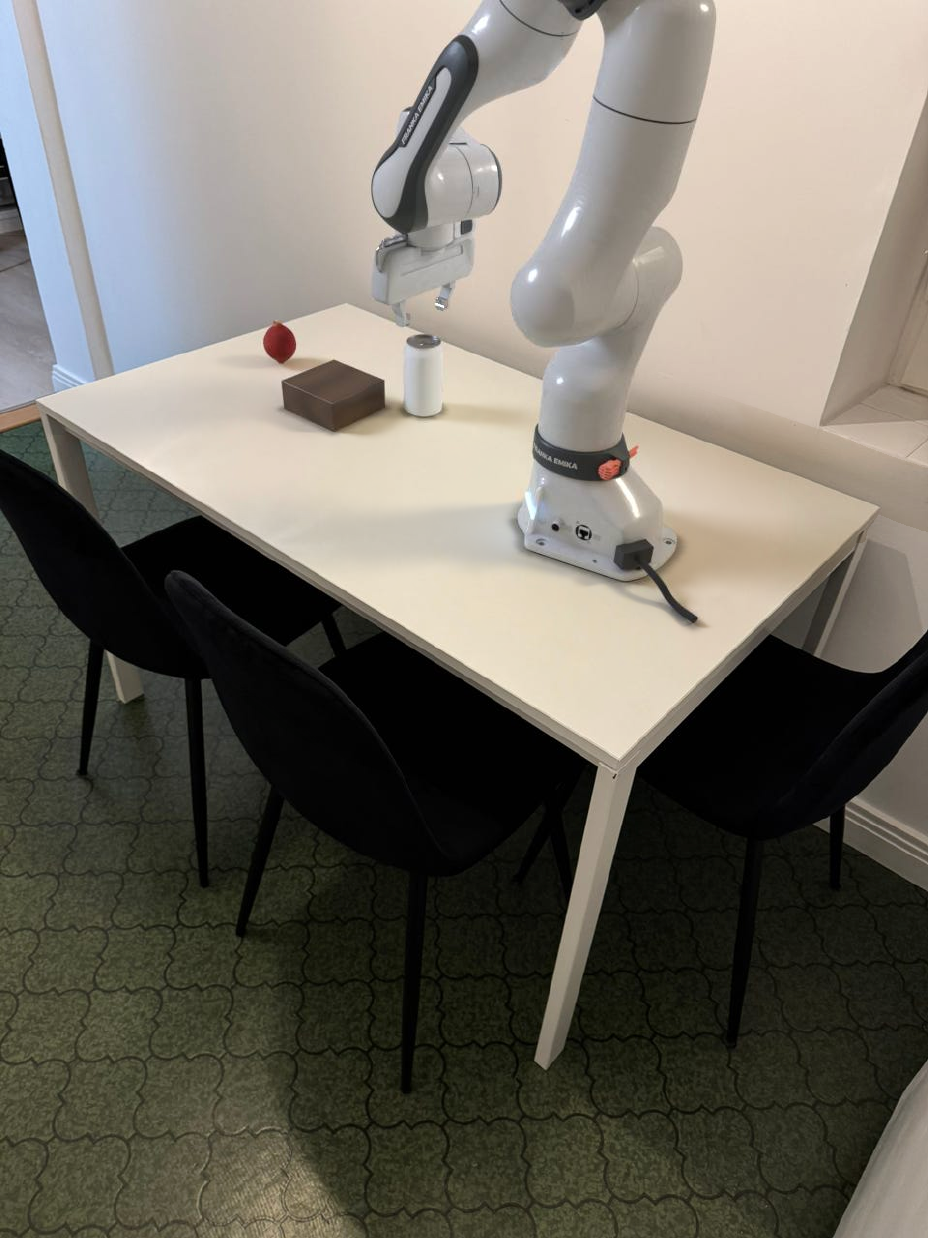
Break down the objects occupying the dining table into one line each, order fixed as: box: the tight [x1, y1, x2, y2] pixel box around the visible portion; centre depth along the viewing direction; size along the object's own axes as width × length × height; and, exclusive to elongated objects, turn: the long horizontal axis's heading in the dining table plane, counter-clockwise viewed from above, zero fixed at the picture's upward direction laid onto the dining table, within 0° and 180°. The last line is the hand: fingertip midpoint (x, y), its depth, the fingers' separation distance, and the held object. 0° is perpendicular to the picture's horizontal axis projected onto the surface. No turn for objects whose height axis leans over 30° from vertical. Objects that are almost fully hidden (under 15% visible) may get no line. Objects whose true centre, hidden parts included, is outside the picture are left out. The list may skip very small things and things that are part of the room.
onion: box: [262, 319, 297, 364], centre depth 163 cm, size 6×6×8 cm
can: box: [403, 333, 444, 418], centre depth 150 cm, size 6×6×12 cm
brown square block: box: [281, 359, 386, 433], centre depth 151 cm, size 12×12×5 cm
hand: (423, 316), depth 143 cm, fingers open, 8 cm apart
